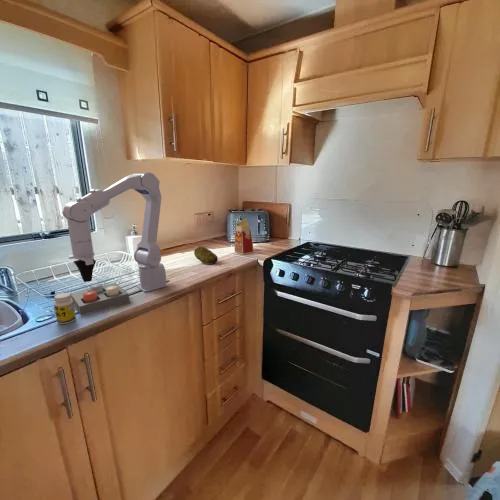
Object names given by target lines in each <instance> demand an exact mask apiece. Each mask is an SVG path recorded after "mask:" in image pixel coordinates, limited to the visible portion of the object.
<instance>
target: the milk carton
mask: <svg viewBox="0 0 500 500" xmlns="http://www.w3.org/2000/svg"><path fill="white" fill-rule="evenodd" d="M250 227H251V226H250V224H249V221H248V218H247V217H246V218H245V219H243V220H239V221H237V222H236V227H235V234H234V235H235V236H234V252H235V253H236V254H238V255H247V254H249V255H250V254H254V241H253V236H252V231H251V228H250Z"/></svg>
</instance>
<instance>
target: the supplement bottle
mask: <svg viewBox="0 0 500 500" xmlns="http://www.w3.org/2000/svg"><path fill="white" fill-rule="evenodd" d="M53 307H54V310H55V317H56V322H57V323H58V324H59V325H67V324H70V323H71V324H72V323H73V322H74V321H75V320H76V319H77V318H76V310H75V305H74V304H73V300H72V299H71V294H70V292H61V293H59V294H56V295H54V303H53Z"/></svg>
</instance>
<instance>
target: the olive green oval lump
mask: <svg viewBox="0 0 500 500" xmlns="http://www.w3.org/2000/svg"><path fill="white" fill-rule="evenodd" d="M193 254H194V256H195V258H196V259H197V260H198V261H199V262H201V264H204V265H205V264H206V265H215V264H216V263H217V262H218V259H219V258H218V256H217V255H216V253H214V252H213V251H212V250H210V249H209V248H207V247H205V246H199V247H198V246H197V247H196V248H195V249H194V250H193Z"/></svg>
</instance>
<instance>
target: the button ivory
mask: <svg viewBox="0 0 500 500" xmlns="http://www.w3.org/2000/svg"><path fill="white" fill-rule="evenodd" d="M106 295H107V297H111V296H115V295H119V288H118V286H110V287H107V288H106Z"/></svg>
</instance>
